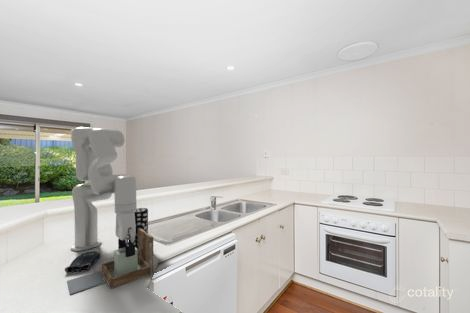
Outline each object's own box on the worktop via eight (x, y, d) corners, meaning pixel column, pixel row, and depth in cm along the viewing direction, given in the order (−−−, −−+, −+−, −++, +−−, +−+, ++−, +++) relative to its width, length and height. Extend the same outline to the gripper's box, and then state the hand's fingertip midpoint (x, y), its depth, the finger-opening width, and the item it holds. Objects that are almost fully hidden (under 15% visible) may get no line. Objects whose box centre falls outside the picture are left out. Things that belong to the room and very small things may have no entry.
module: (114, 273, 83) (114, 249, 83) (133, 267, 87) (133, 243, 87) (117, 279, 79) (117, 253, 79) (137, 272, 84) (137, 247, 84)
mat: (67, 281, 77) (67, 280, 77) (99, 271, 84) (99, 270, 84) (69, 295, 70) (69, 294, 70) (105, 282, 77) (105, 281, 77)
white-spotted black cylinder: (128, 251, 102) (128, 209, 102) (147, 247, 106) (147, 207, 106) (128, 258, 95) (128, 213, 95) (149, 254, 99) (148, 211, 99)
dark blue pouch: (93, 274, 86) (103, 252, 100) (90, 261, 85) (101, 242, 99) (66, 281, 83) (80, 258, 97) (63, 268, 82) (77, 247, 96)
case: (101, 271, 84) (101, 236, 84) (140, 259, 94) (140, 227, 94) (111, 290, 72) (111, 249, 72) (154, 274, 82) (154, 237, 82)
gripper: (109, 205, 87) (110, 248, 87) (121, 213, 74) (122, 263, 74) (129, 203, 92) (130, 243, 92) (143, 209, 79) (144, 256, 79)
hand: (126, 251), depth 83 cm, fingers open, 9 cm apart
